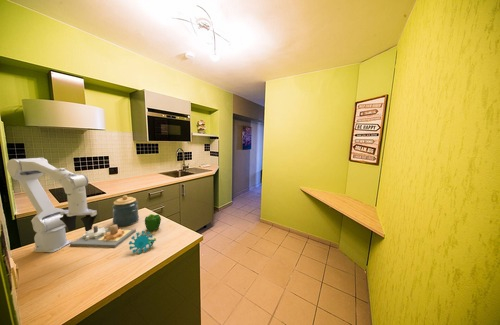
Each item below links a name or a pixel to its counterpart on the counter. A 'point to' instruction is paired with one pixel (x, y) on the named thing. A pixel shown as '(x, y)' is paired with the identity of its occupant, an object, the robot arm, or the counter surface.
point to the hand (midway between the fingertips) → (80, 229)
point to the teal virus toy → (141, 241)
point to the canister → (125, 211)
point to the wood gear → (113, 233)
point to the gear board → (101, 238)
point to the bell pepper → (152, 222)
